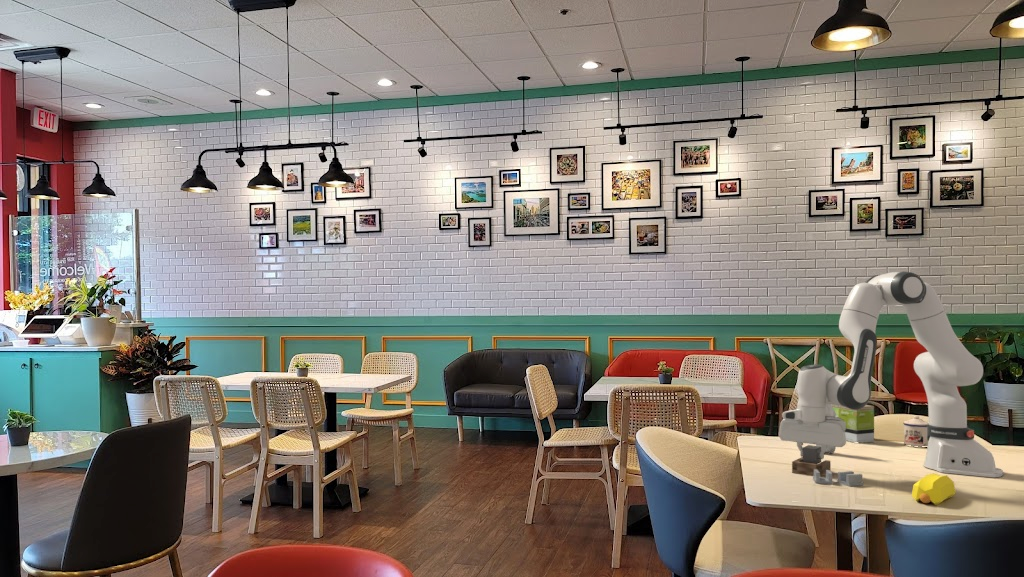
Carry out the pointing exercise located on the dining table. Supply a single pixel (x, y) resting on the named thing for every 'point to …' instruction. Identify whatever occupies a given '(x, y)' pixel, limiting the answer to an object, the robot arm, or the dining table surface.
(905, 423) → the teacup with lid
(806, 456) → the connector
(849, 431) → the tea box
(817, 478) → the clip
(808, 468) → the holder
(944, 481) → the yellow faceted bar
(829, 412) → the open metal bottle
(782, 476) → the dining table surface
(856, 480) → the clip
